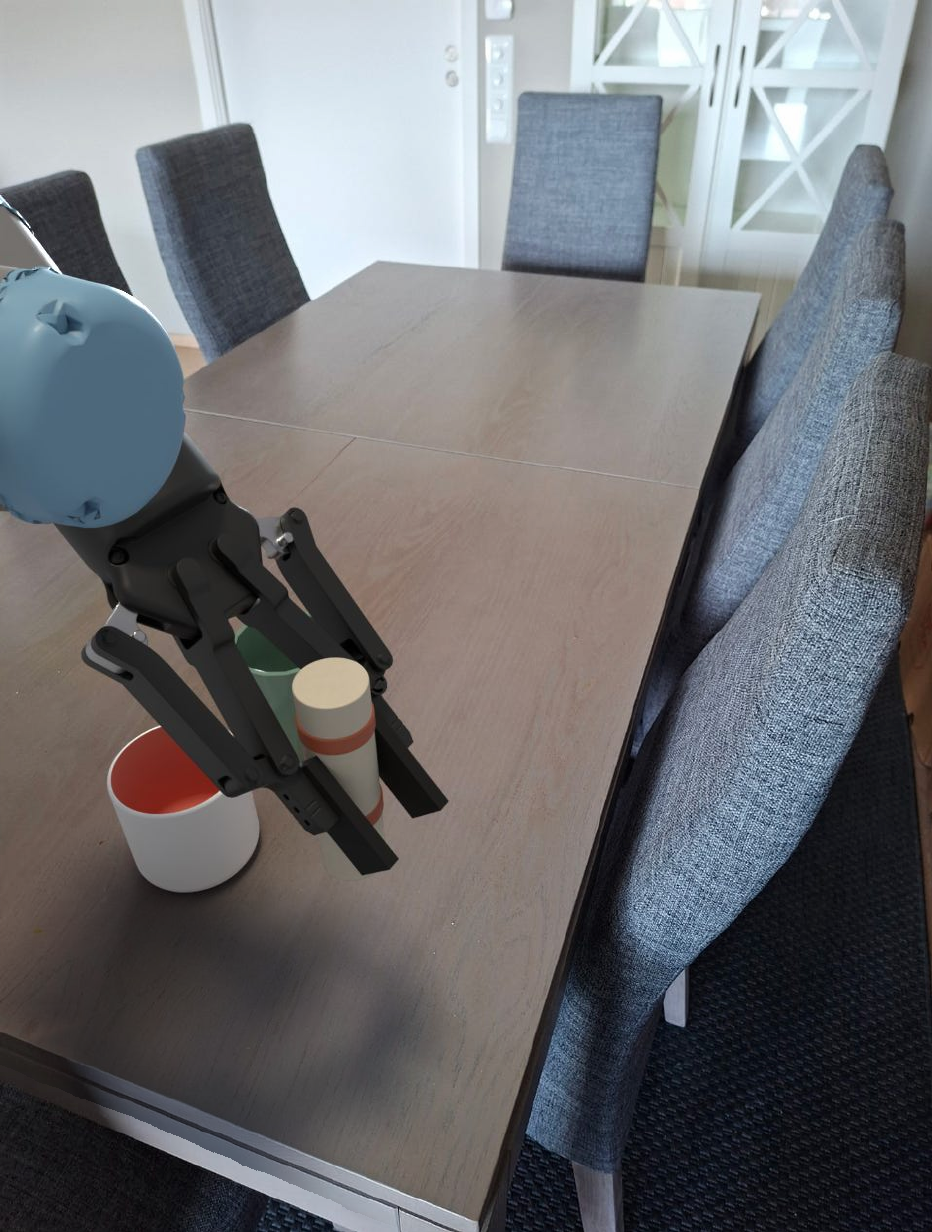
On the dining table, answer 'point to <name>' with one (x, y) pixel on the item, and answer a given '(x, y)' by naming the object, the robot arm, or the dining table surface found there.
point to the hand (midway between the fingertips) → (405, 837)
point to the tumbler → (272, 678)
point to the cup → (179, 816)
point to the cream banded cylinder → (341, 743)
